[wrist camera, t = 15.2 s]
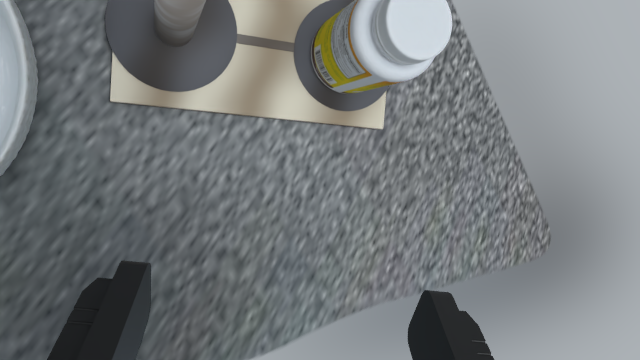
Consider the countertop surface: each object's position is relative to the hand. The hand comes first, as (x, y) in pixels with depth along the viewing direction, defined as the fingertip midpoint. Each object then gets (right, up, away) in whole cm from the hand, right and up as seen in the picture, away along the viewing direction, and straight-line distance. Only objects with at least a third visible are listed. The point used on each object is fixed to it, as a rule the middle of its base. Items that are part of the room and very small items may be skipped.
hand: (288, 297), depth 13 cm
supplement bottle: (+3, +12, +20) cm, 24 cm away
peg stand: (-3, +13, +19) cm, 23 cm away
